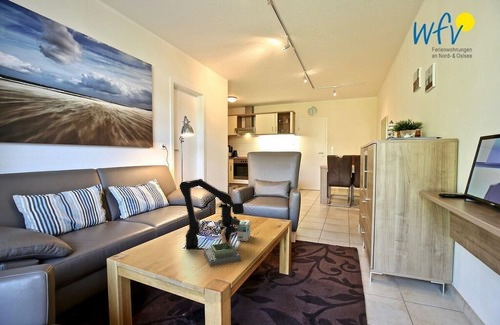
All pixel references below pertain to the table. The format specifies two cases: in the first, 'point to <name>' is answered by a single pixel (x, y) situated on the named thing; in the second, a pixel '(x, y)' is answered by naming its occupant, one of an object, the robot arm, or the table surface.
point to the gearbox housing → (221, 254)
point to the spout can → (225, 238)
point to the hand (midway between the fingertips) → (226, 239)
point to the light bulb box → (243, 230)
